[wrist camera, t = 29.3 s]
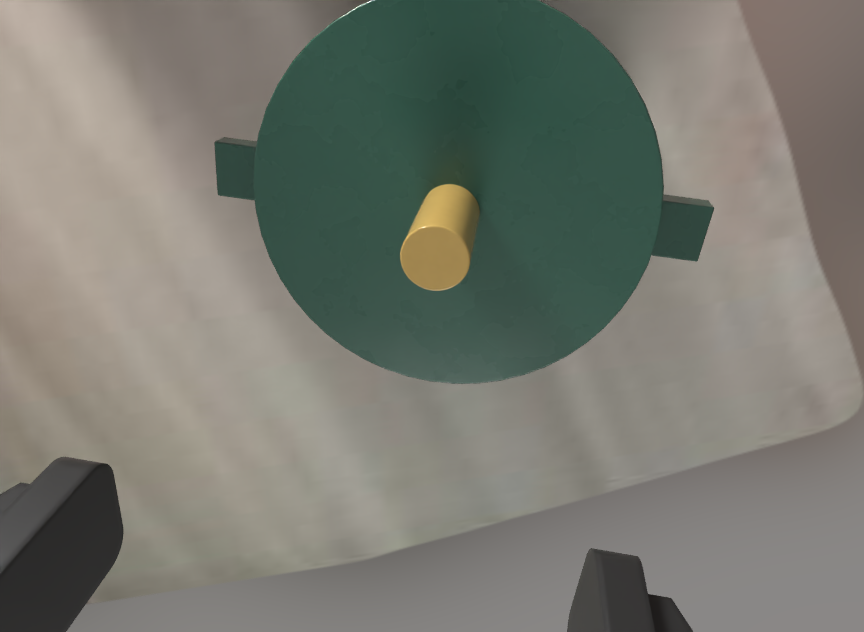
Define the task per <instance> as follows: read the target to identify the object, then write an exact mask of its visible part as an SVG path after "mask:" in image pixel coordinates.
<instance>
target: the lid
mask: <svg viewBox="0 0 864 632" xmlns="http://www.w3.org/2000/svg"><path fill="white" fill-rule="evenodd" d="M253 185H254V196H255V206H256V213H257V217H258V222H259V226H260V230H261V235H262V237H263V240H264V243H265V246H266V249H267V251H268V254H269V257H270V259H271V261H272V263H273V265H274V267H275V269H276V271H277V273H278V275H279V277H280V279H281V280H282V282H283V283H284V285H285V287H286V288H287V290H288V291H289V293H290V294H291V296H292V297H293V299H294V300H295V301H296V302H297V303H298V305H299V306H300V307H301V308H302V309H303V311H304V312H305V313H306V314H307V315H308V317H309V318H310V319H311V320H312V321H314V322H315V323H316V324H317V325H318V326H319V327H320V328H321V329H322V330H323V331H324V332H325V333H326V334H327V335H329V336H330V337H331V338H333V339H334V340H335V341H337V342H338V343H339V344H341V345H342V346H343V347H345V348H346V349H348V350H350V351H351V352H353V353H355V354H356V355H358V356H360V357H361V358H363V359H365V360H367V361H369V362H371V363H373V364H376V365H378V366H380V367H382V368H384V369H387V370H390V371H393V372H396V373H399V374H402V375H405V376H408V377H413V378H417V379H422V380H427V381H432V382H442V383H452V384H469V383H485V382H493V381H501V380H505V379H509V378H513V377H517V376H521V375H525V374H527V373H530V372H533V371H536V370H538V369H541V368H544V367H546V366H548V365H550V364H552V363H554V362H556V361H558V360H560V359H562V358H564V357H566V356H568V355H569V354H571V353H572V352H574V351H575V350H577V349H578V348H580V347H581V346H583V345H584V344H586V343H587V342H588V341H589V340H590V339H592V338H593V337H594V336H595V335H596V334H597V333H599V332H600V331H601V330H602V329H603V328H604V327H605V326H606V325H607V324H608V323H609V322H610V321H611V320H612V319H613V318H614V316H615V315H616V314H617V313H618V312H619V311H620V310H621V309H622V307H623V306H624V304H625V303H626V302H627V300H628V299H629V297H630V296H631V294H632V293H633V292H634V290H635V289H636V287H637V285H638V283H639V281H640V279H641V277H642V275H643V273H644V271H645V270H646V268H647V266H648V263H649V260H650V257H651V255H652V252H653V249H654V246H655V243H656V241H657V236H658V231H659V226H660V221H661V217H662V206H663V191H664V184H663V170H662V159H661V154H660V149H659V145H658V140H657V136H656V131H655V129H654V126H653V123H652V121H651V118H650V116H649V113H648V110H647V108H646V105H645V103H644V101H643V99H642V97H641V96H640V94H639V92H638V90H637V88H636V87H635V85H634V83H633V81H632V79H631V78H630V76H629V75H628V74H627V73H626V71H625V70H624V69H623V67H622V66H621V65H620V63H619V62H618V61H617V59H616V58H615V57H614V55H613V54H612V53H611V52H610V51H609V50H608V49H607V48H606V47H605V46H604V45H603V44H602V43H601V42H600V41H599V40H598V39H596V38H595V37H594V36H593V35H592V34H591V33H590V32H589V31H588V30H586V29H585V28H584V27H582V26H581V25H579V24H578V23H577V22H575V21H574V20H572V19H571V18H570V17H568V16H567V15H566V14H564V13H562V12H560V11H558V10H556V9H554V8H552V7H551V6H549V5H547V4H545V3H543V2H541V1H539V0H371V1H368V2H366V3H364V4H361V5H359V6H357V7H356V8H354V9H353V10H351V11H349V12H348V13H346V14H344V15H343V16H341V17H340V18H338V19H336V20H335V21H333V22H332V23H331V24H330V25H329V26H327V27H326V28H325V29H324V30H323V31H321V32H320V33H319V34H318V35H317V36H316V37H314V38H313V39H312V40H311V41H310V42H309V43H308V44H307V46H306V47H305V48H304V49H303V50H302V51H301V52H300V53H299V55H298V56H297V57H296V58H295V59H294V60H293V62H292V63H291V65H290V66H289V68H288V69H287V71H286V72H285V74H284V75H283V77H282V78H281V80H280V81H279V83H278V85H277V87H276V89H275V91H274V93H273V95H272V97H271V100H270V102H269V104H268V106H267V108H266V111H265V114H264V118H263V121H262V124H261V127H260V131H259V134H258V140H257V146H256V152H255V158H254V184H253Z"/></svg>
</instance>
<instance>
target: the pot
mask: <svg viewBox="0 0 864 632" xmlns="http://www.w3.org/2000/svg"><path fill="white" fill-rule="evenodd" d="M256 146H257V141H249V140H241V139H234V138H226V137H224V138H222V139H220V140H218V141H216V142H215V158H216V174H217V190H218V195H220V196H227V197H234V198H241V199H248V200H255V196H254V185H253V184H254V158H255V152H256ZM713 210H714V207H713V206H712V205H711V203H710V202H709V201H708V200H700V199H692V198H685V197H677V196H670V195H663V206H662V217H661V221H660V226H659V231H658V236H657V241H656V243H655V246H654V249H653V252H652V256H660V257H667V258H674V259H681V260H689V261H698V258H699V255H700V252H701V248H702V245H703V242H704V239H705V236H706V233H707V229H708V226H709V223H710V220H711V217H712V214H713Z"/></svg>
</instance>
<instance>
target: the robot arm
mask: <svg viewBox="0 0 864 632" xmlns="http://www.w3.org/2000/svg"><path fill="white" fill-rule="evenodd" d="M122 540H123V524H122V518H121V513H120V507H119V501H118V496H117V490H116V485H115V479H114V474H113V470H112V468H111V467H110V466H109V465H108V464H104V463H98V462H92V461H87V460H81V459H75V458H69V457H60V458H58V459H56V460H55V461H53V462H52V463H51V464H50V465H49V466H48V467H47V468H46V469H45V470H44V471H43V472H42V473H41V474H40V475H39V476H38V477H37V478H36V479H35V480H34V481H33V482H32V483H31V484H26V483H19V484H18V485H16V486H14V487H12V488H11V489H9V490H7V491H6V492H4V493H2V494H0V632H66V631H67V630H68V628H69V627H70V625H71V624H72V623H73V621H74V619H75V618H76V617H77V615H78V614H79V613H80V611H81V610H82V608H83V607H84V606H85V604H86V603H87V601H88V600H89V599H90V597H91V596H92V594H93V593H94V592H95V590H96V589H97V587H98V586H99V585H100V583H101V582H102V580H103V579H104V578H105V576H106V575H107V573H108V572H109V570H110V569H111V568H112V566H113V564H114V563H115V561H116V559H117V556H118V554H119V551H120V548H121V545H122ZM567 632H693V631H692V629H691V627H690V626H689V624H688V623H687V622H686V620H685V618H684V617H683V615H682V614H681V613H680V611H679V609H678V608H677V606H676V605H675V603H674V602H673V600H672V599H671V598H668V597H661V596H656V595H650V594H648V593H647V588H646V582H645V577H644V572H643V567H642V564H641V561H640V559H639V557H638V556H633V555H627V554H621V553H615V552H609V551H603V550H597V549H592V548H591V549H590V550H589V551H588V553H587V556H586V559H585V563H584V566H583V569H582V573H581V576H580V579H579V583H578V586H577V589H576V593H575V596H574V600H573V603H572V606H571V610H570V614H569V620H568V629H567Z"/></svg>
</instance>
